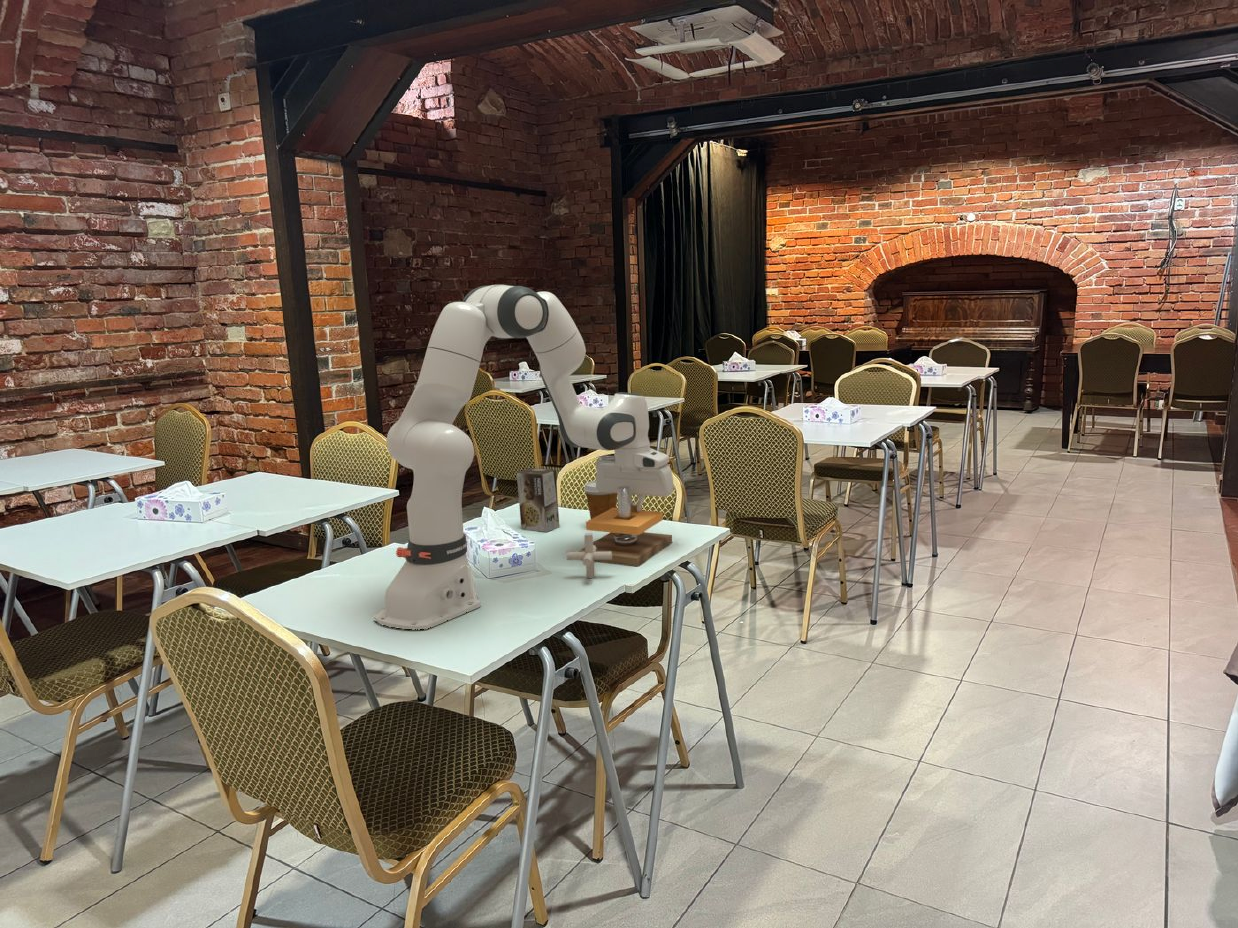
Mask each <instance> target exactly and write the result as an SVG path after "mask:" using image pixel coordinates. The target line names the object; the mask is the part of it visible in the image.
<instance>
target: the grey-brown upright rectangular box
mask: <svg viewBox="0 0 1238 928" xmlns="http://www.w3.org/2000/svg"><path fill="white" fill-rule="evenodd" d="M516 481H517V482H516V483H517V492H518V493H517V495H518V504H519V515H520V516H519V517H520V529H521V530H527V531H537V532H545V533H548V532H550V531H552V530H555V529H558V528H560V514H559V500H558V485H557V482H558V481H557V469H550V468H537V467H529V468H526V469H523V470H521V471H518V472H516Z"/></svg>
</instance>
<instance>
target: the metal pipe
mask: <svg viewBox="0 0 1238 928" xmlns="http://www.w3.org/2000/svg"><path fill="white" fill-rule="evenodd" d="M617 492H618V493H617V508H618V513H619V519H622V520H630V519H631V507H630V487H627V486H622V487H618V488H617ZM614 541H615V545H617V546H633V545H636V544H637V535H632V534H622V533H619V534H618V535H615V536H614Z"/></svg>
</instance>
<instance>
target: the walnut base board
mask: <svg viewBox="0 0 1238 928" xmlns="http://www.w3.org/2000/svg"><path fill="white" fill-rule="evenodd" d="M618 534H619V533H612V532H608V533H607V534H606V535H604V536H602V537H600V538H598V539H597V540H595V541H593V545H595V546H596V548H597V549H596V552H609V551H612V559H607V560H594V563H596V562H597V563H605V564H611V565H612V564H614V565H621V566H629V567H630V566H631V567H640V566H641V565H643V563H645V562H646V561H648V560H649V559H651V558H652V557H654V556H655V555H657V554H658V553H659V552H661V551H662V550H664V549H665V548H667V547H669V545H671V544H673V535H672V534H669V533H667V534H665V533H657V532H656V533H655V532H647V531H644V532H643V533H641V534H640V535H637V544H636V545H633V546H617V545H615V541H614V536H615V535H618ZM577 552H585V547H583V548H581V549H580V550H578V551H577Z"/></svg>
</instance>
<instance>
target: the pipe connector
mask: <svg viewBox="0 0 1238 928" xmlns="http://www.w3.org/2000/svg"><path fill="white" fill-rule="evenodd" d="M583 537H584V548H585V552H578V551H568V552H566V560H567V561H582V565H584V566H585V569H586V578H587V579H593V578H595V577H596V576H595V561H594V560H607V559H612V551H609V552H596V549H597V548H596V546H595V545H593V542H594V540H593V539H594V536H593V533H590V532H585V533H584V536H583Z"/></svg>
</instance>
